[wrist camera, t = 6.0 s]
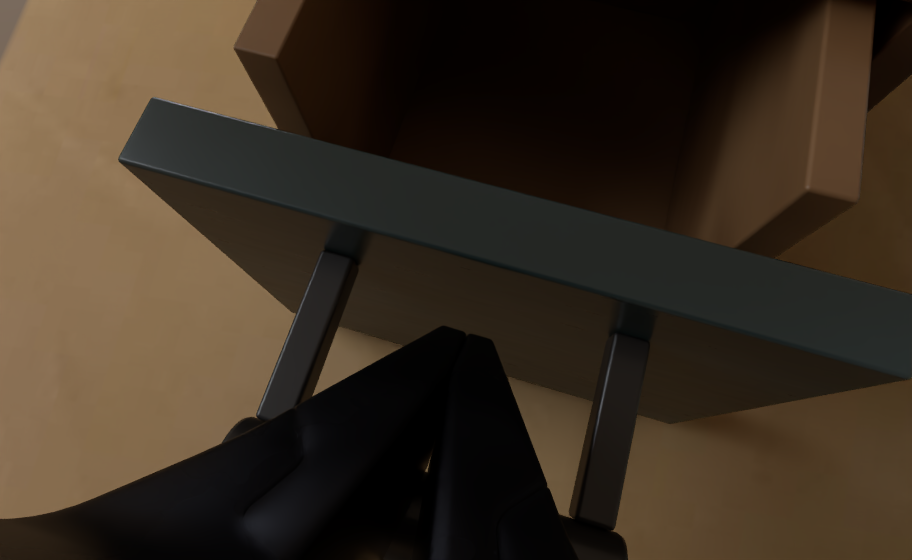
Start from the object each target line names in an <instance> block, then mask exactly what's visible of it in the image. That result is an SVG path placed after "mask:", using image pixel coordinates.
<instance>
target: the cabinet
mask: <svg viewBox="0 0 912 560" xmlns="http://www.w3.org/2000/svg"><path fill="white" fill-rule="evenodd" d="M911 74H912V0H877V2H876V14H875V25H874V37H873V49H872V61H871V73H870V84H869V96H868V108H867V113H868V112H869V111H870V110H871V109H872V108H873V107H874V106H876V105H877V104H878V103H879V102H880V101H881V100H883V99H884V98H885V97H886V96H887V95H888V94H889V93H891V92H892V91H893V90H894V89H895V88H896V87H898V86H899V85H900V84H901V83H902V82H903V81H904V80H906V79H907V78H908V77H909V76H910V75H911Z"/></svg>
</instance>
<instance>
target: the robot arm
mask: <svg viewBox="0 0 912 560" xmlns="http://www.w3.org/2000/svg"><path fill="white" fill-rule="evenodd" d="M430 457H431V459H430ZM429 460H430V463H429ZM428 463H429V467H428V472H427V476H426V481H425V487H424V492H423V497H422V503H421V508H420V514H419V519H418V525H417V530H416V536H415V541H414V547H413V552H412V558H411V560H579V558H578V556H577V554H576V552H575V550H574V548H573V546H572V544H571V542H570V539H569V537H568V534H567V532H566V530H565V527H564V525H563V523H562V520H561V518H560V515H559V513H558V511H557V508H556V505H555V502H554V500H553V497H552V494H551V492H550V489H549V488H547V482H546V479H545V477H544V474H543V471H542V469H541V466H540V463H539V461H538V458H537V455H536V453H535V450H534V448H533V445H532V442H531V440H530V437H529V434H528V432H527V429H526V426H525V424H524V421H523V418H522V416H521V413H520V411H519V408H518V405H517V403H516V400H515V397H514V395H513V392H512V389H511V387H510V384H509V382H508V379H507V376H506V374H505V371H504V368H503V366H502V363H501V360H500V358H499V355H498V352H497V350H496V347H495V345H494V342H493V341H492V340H491V339H489V338H486V337H482V336H479V335H475V334H468V335H467V336H466V333H465V332H464V331H461V330H458V329H455V328H451V327H448V326H440V327H438V328H436V329H434V330H433V331H431V332H429V333H427V334H425V335H424V336H422V337H420V338H418V339H416V340H414V341H413V342H411V343H409V344H407V345H405V346H404V347H402V348H400V349H398V350H396V351H394V352H393V353H391V354H389V355H387V356H385V357H384V358H382V359H380V360H378V361H376V362H374V363H373V364H371V365H369V366H367V367H365V368H364V369H362V370H360V371H358V372H356V373H354V374H353V375H351V376H349V377H347V378H345V379H344V380H342V381H340V382H338V383H336V384H334V385H333V386H331V387H329V388H327V389H325V390H324V391H322V392H320V393H318V394H316V395H314V396H313V397H311V398H309V399H307V400H305V401H304V402H302V403H300V404H298V405H297V406H296V407H295V409H294V408H290V409H289V410H287V411H285V412H283V413H281V414H279V415H278V416H276V417H274V418H272V419H270V420H268V421H266V422H264V423H263V424H261V425H259V426H257V427H255V428H253V429H251V430H249V431H247V432H245V433H243V434H241V435H239V436H237V437H235V438H233V439H230V440H228V441H226V442H224V443H222V444H219V445H217V446H215V447H213V448H211V449H208V450H206V451H204V452H202V453H199V454H197V455H195V456H192V457H190V458H188V459H185V460H183V461H181V462H178V463H176V464H174V465H171V466H169V467H167V468H164V469H162V470H160V471H157V472H155V473H152V474H150V475H148V476H145V477H143V478H141V479H138V480H136V481H134V482H131V483H129V484H127V485H124V486H122V487H120V488H117V489H115V490H113V491H110V492H108V493H105V494H103V495H101V496H98V497H96V498H94V499H91V500H88V501H86V502H83V503H81V504H78V505H75V506H72V507H69V508H65V509H62V510H59V511H56V512H51V513H47V514H42V515H38V516H31V517H23V518H14V519H0V560H383V559H384V557H385V555H386V552H387V550H388V548H389V546H390V544H391V542H392V540H393V538H394V536H395V534H396V532H397V529H398V527H399V525H400V523H401V521H402V519H403V517H404V515H405V513H406V511H407V509H408V506H409V504H410V502H411V500H412V498H413V496H414V494H415V492H416V490H417V488H418V486H419V483H420V481H421V479H422V477H423V475H424V472H425V470H426V468H427V466H428Z"/></svg>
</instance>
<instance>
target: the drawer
mask: <svg viewBox="0 0 912 560" xmlns="http://www.w3.org/2000/svg"><path fill="white" fill-rule="evenodd" d="M876 2H877V0H257V2H256V4H255V6H254V7H253V9H252V11H251V13H250V15H249V17H248V19H247V21H246V23H245V25H244V27H243V29H242V31H241V33H240V35H239V37H238V39H237V41H236V43H235V45H234V50H235V52H236V54H237V55H238V57H239V59H240V61H241V63H242V64H243V66H244V68H245V70H246V72H247V73H248V75H249V77H250V79H251V81H252V82H253V84H254V86H255V88H256V90H257V91H258V93H259V95H260V97H261V99H262V100H263V102H264V104H265V106H266V108H267V109H268V111H269V113H270V115H271V117H272V118H273V120H274V122H275V124H276V126H277V127H278V129H275V128H271V127H267V126H264V125H260V124H256V123H252V122H248V121H244V120H240V119H237V118H233V117H229V116H225V115H221V114H217V113H214V112H210V111H206V110H202V109H198V108H194V107H191V106H187V105H183V104H179V103H175V102H171V101H168V100H164V99H160V98H156V97H153V98H151V99H150V101H149V103H148V105H147V107H146V108H145V110H144V112H143V114H142V116H141V118H140V119H139V121H138V123H137V125H136V127H135V129H134V130H133V132H132V134H131V136H130V138H129V140H128V141H127V143H126V145H125V147H124V149H123V150H122V152H121V154H120V156H119V159H118V160H119V162H120V163H121V164H122V165H124V166H125V167H126V168H127V169H128V170H129V171H130V172H132V173H133V174H134V175H135V176H136V177H137V178H138V179H140V180H141V181H142V182H143V183H144V184H145V185H146V186H148V187H149V188H150V189H151V190H152V191H153V192H154V193H156V194H157V195H158V196H159V197H160V198H161V199H162V200H164V201H165V202H166V203H167V204H168V205H169V206H171V207H172V208H173V209H174V210H175V211H176V212H177V213H179V214H180V215H181V216H182V217H183V218H184V219H185V220H187V221H188V222H189V223H190V224H191V225H192V226H193V227H195V228H196V229H197V230H198V231H199V232H200V233H201V234H203V235H204V236H205V237H206V238H207V239H208V240H209V241H211V242H212V243H213V244H214V245H215V246H216V247H218V248H219V249H220V250H221V251H222V252H223V253H224V254H226V255H227V256H228V257H229V258H230V259H231V260H232V261H234V262H235V263H236V264H237V265H238V266H239V267H240V268H242V269H243V270H244V271H245V272H246V273H247V274H248V275H250V276H251V277H252V278H253V279H254V280H255V281H257V282H258V283H259V284H260V285H261V286H262V287H263V288H265V289H266V290H267V291H268V292H269V293H270V294H271V295H273V296H274V297H275V298H276V299H277V300H278V301H279V302H281V303H282V304H283V305H284V306H285V307H286V308H287V309H289V310H290V311H291V312H293V313H296V316H295V318H294V321H293V323H292V326H291V328H290V331H289V333H288V336H287V338H286V341H285V343H284V346H283V348H282V351H281V353H280V356H279V358H278V361H277V363H276V366H275V368H274V371H273V373H272V376H271V378H270V381H269V383H268V386H267V388H266V391H265V393H264V396H263V398H262V401H261V403H260V406H259V408H258V411H257V414H256V417H257V418H255V417H248V418H244V419H242V420H240V421H239V422H238V423H237V424H236V425H235V426H234V427H233V428H232V429H231V430H230V432H229V433H228V434H227V436H226V437H225V439H224V440H223V442H222V443H224V442H226V441H228V440H230V439H233V438H235V437H237V436H239V435H241V434H243V433H245V432H247V431H249V430H251V429H253V428H255V427H257V426H259V425H261V424H263V423H264V422H266V421H268V420H270V419H272V418H274V417H276V416H278V415H279V414H281V413H283V412H285V411H287V410H289V409H290V408H294V409H295V407H296V406H297V405H298V404H300V403H302V402H304V401H305V400H307V399H309V398H311V397H312V395H313V393H314V390H315V387H316V385H317V382H318V379H319V376H320V374H321V371H322V368H323V366H324V363H325V360H326V358H327V355H328V352H329V350H330V347H331V344H332V342H333V339H334V336H335V333H336V331H337V328H338V326H340V327H344V328H347V329H350V330H354V331H357V332H361V333H364V334H367V335H371V336H374V337H378V338H381V339H384V340H388V341H391V342H394V343H398V344H401V345H407V344H409V343H411V342H413V341H414V340H416V339H418V338H420V337H422V336H424V335H425V334H427V333H429V332H431V331H433V330H434V329H436V328H438V327H440V326H448V327H451V328H455V329H458V330H461V331H464V332H465V333H466V336H467V335H468V334H475V335H479V336H482V337H486V338H489V339H491V340H492V341H493V342H494V345H495V347H496V350H497V352H498V355H499V358H500V360H501V363H502V366H503V368H504V371H505V374H506V376H510V377H513V378H516V379H520V380H523V381H526V382H530V383H533V384H537V385H540V386H543V387H547V388H550V389H554V390H557V391H560V392H564V393H567V394H570V395H574V396H577V397H581V398H584V399H587V400H591V401H593V404H592V408H591V413H590V417H589V422H588V426H587V431H586V436H585V440H584V445H583V449H582V454H581V458H580V463H579V467H578V472H577V477H576V481H575V486H574V490H573V495H572V499H571V504H570V508H569V515H570V516H571V517H572V518H573V519H572V518H569V517H566V516H563V515H560V514H559V515H560V518H561V520H562V523H563V525H564V527H565V530H566V532H567V534H568V537H569V539H570V542H571V544H572V546H573V548H574V550H575V552H576V554H577V556H578V558H579V560H628V554H627V546H626V543H625V540H624V538H623V537H622V536H620V535H619V534H618V533H616V532H613V531H612V530H614V528H615V526H616V520H617V515H618V510H619V505H620V500H621V495H622V490H623V484H624V479H625V474H626V469H627V464H628V459H629V454H630V448H631V443H632V438H633V433H634V428H635V423H636V418H637V414H638V415H642V416H645V417H648V418H652V419H655V420H658V421H662V422H665V423H669V424H672V423H678V422H683V421H689V420H694V419H699V418H705V417H710V416H715V415H721V414H726V413H732V412H737V411H742V410H748V409H753V408H758V407H764V406H769V405H775V404H780V403H785V402H791V401H796V400H801V399H807V398H812V397H818V396H823V395H828V394H834V393H839V392H844V391H850V390H855V389H861V388H866V387H871V386H877V385H882V384H887V383H893V382H898V381H904V380H909V379H911V377H912V294H908V293H905V292H901V291H897V290H893V289H889V288H885V287H882V286H878V285H874V284H870V283H866V282H862V281H859V280H855V279H851V278H847V277H843V276H839V275H835V274H832V273H828V272H824V271H820V270H816V269H812V268H809V267H805V266H801V265H797V264H793V263H789V262H786V261H782V260H778V259H774V258H775V257H776V256H778V255H779V254H781V253H782V252H784V251H785V250H787V249H789V248H790V247H792V246H793V245H795V244H796V243H798V242H799V241H801V240H802V239H804V238H805V237H807V236H808V235H810V234H811V233H813V232H814V231H816V230H817V229H819V228H820V227H822V226H823V225H825V224H826V223H828V222H830V221H831V220H833V219H834V218H836V217H837V216H839V215H840V214H842V213H843V212H845V211H846V210H848V209H849V208H851V207H852V206H854V205H855V204H857V203H858V201H859V199H860V190H861V178H862V167H863V155H864V143H865V131H866V120H867V108H868V96H869V84H870V73H871V61H872V49H873V37H874V25H875V14H876ZM426 476H427V472H424V475H423V477H422V479H421V481H420V483H419V486H418V488H417V490H416V492H415V494H414V496H413V498H412V500H411V502H410V504H409V506H408V509H407V511H406V513H405V515H404V517H403V519H402V521H401V523H400V525H399V527H398V529H397V532H396V534H395V536H394V538H393V540H392V542H391V544H390V546H389V548H388V550H387V552H386V555H385V557H384V559H383V560H411V558H412V552H413V547H414V541H415V536H416V530H417V525H418V519H419V514H420V508H421V503H422V497H423V492H424V487H425V481H426Z"/></svg>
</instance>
